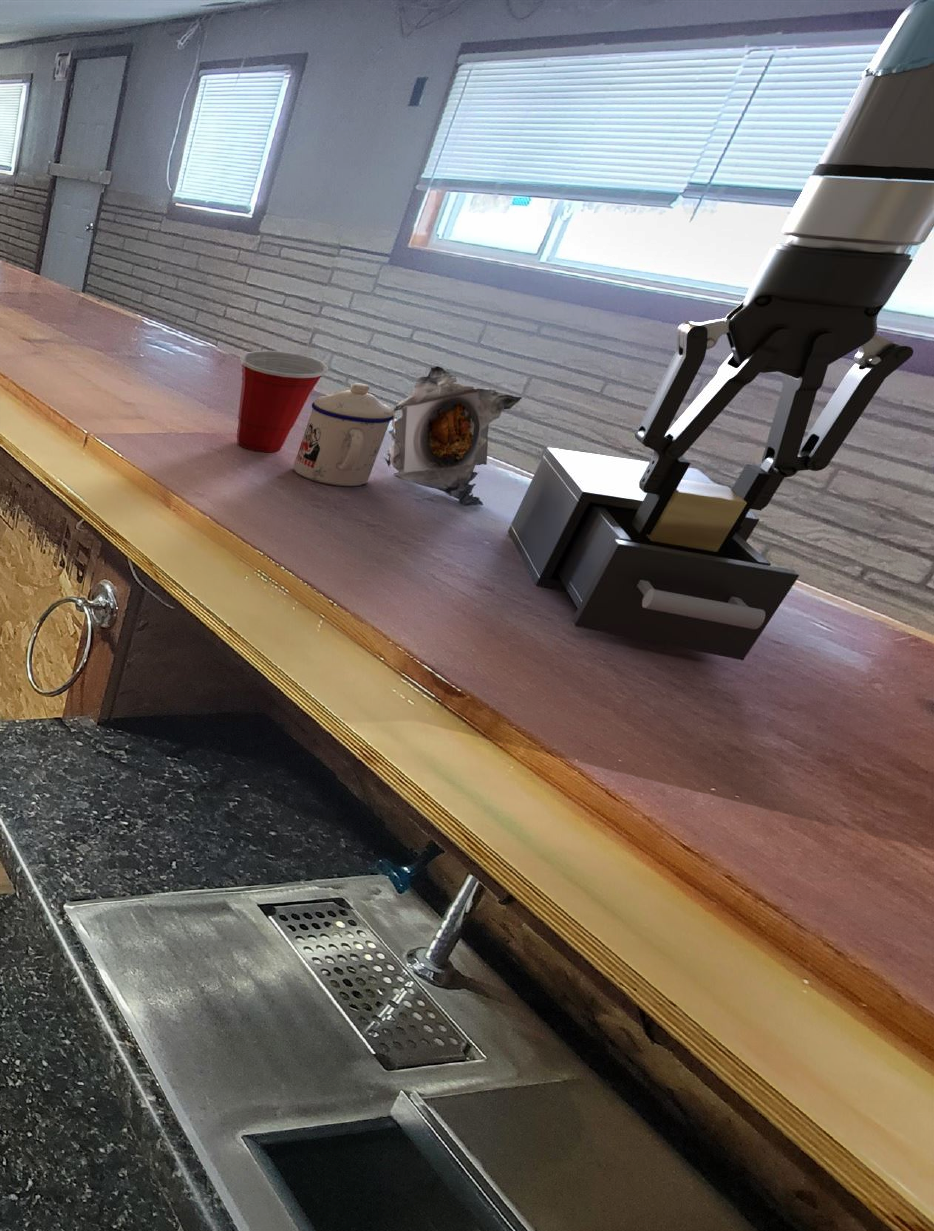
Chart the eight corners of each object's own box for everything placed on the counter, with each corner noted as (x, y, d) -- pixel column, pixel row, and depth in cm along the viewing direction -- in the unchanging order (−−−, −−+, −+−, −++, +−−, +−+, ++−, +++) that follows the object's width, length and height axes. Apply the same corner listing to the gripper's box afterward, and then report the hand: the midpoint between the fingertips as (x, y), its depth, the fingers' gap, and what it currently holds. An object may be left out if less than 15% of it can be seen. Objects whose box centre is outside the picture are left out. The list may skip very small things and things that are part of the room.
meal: (487, 505, 108) (536, 396, 101) (456, 505, 107) (503, 396, 101) (399, 464, 121) (437, 365, 114) (371, 464, 120) (407, 365, 114)
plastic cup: (216, 451, 123) (241, 361, 117) (217, 430, 131) (240, 346, 125) (303, 463, 119) (334, 372, 113) (298, 442, 128) (326, 356, 122)
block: (717, 552, 76) (747, 502, 73) (651, 541, 77) (678, 491, 75) (698, 534, 79) (727, 486, 77) (636, 523, 81) (662, 476, 78)
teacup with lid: (286, 460, 120) (314, 372, 114) (360, 469, 118) (393, 380, 112) (299, 489, 110) (331, 394, 105) (381, 500, 108) (418, 404, 102)
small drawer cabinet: (699, 617, 83) (760, 519, 79) (535, 585, 88) (583, 491, 83) (648, 556, 96) (698, 468, 91) (507, 531, 101) (547, 447, 96)
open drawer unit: (764, 685, 71) (825, 596, 67) (586, 647, 75) (633, 562, 71) (684, 592, 86) (731, 515, 82) (540, 565, 90) (577, 491, 86)
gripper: (977, 251, 66) (789, 542, 78) (679, 231, 72) (547, 502, 84) (1043, 261, 60) (829, 574, 72) (712, 238, 67) (565, 528, 78)
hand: (677, 534), depth 78 cm, fingers closed on block, 4 cm apart
